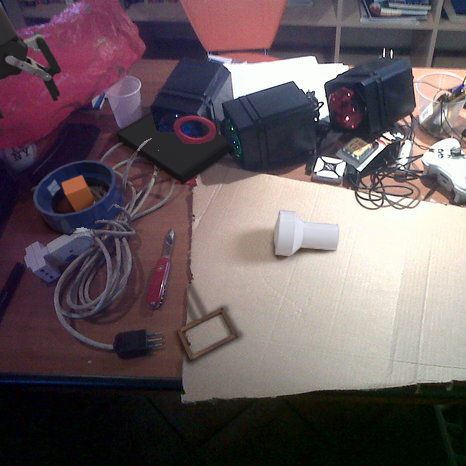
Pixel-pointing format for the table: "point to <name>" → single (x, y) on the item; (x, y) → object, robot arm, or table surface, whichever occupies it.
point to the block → (78, 193)
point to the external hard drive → (173, 149)
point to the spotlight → (302, 234)
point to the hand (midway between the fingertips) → (28, 107)
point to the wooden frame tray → (214, 346)
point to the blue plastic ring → (53, 193)
